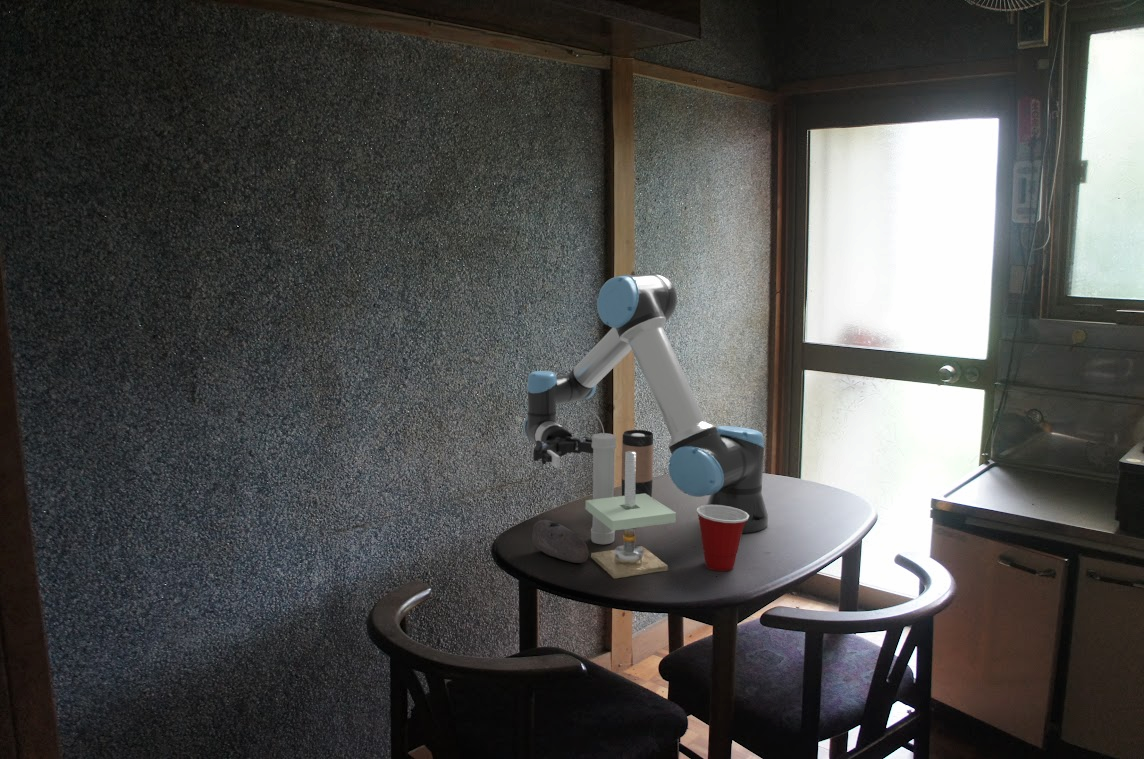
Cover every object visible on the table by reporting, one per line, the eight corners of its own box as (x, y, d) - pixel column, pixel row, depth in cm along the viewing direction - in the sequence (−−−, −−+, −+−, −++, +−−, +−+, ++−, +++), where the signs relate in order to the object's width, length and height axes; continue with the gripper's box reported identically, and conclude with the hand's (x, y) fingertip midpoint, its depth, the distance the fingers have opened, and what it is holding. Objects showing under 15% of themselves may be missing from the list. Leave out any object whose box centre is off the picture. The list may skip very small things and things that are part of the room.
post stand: (591, 557, 182) (592, 448, 178) (642, 550, 186) (644, 443, 182) (614, 578, 171) (616, 462, 167) (667, 570, 175) (670, 456, 171)
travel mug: (658, 513, 211) (660, 434, 207) (633, 518, 207) (635, 438, 203) (638, 505, 217) (640, 428, 214) (614, 510, 213) (615, 432, 209)
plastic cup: (756, 573, 174) (759, 516, 172) (708, 578, 171) (710, 521, 169) (732, 554, 184) (734, 500, 182) (686, 559, 181) (687, 504, 179)
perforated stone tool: (595, 564, 178) (596, 532, 177) (577, 571, 175) (578, 539, 174) (547, 545, 189) (547, 515, 188) (529, 551, 185) (529, 521, 184)
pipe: (613, 546, 189) (614, 413, 184) (585, 543, 190) (586, 411, 185) (616, 537, 194) (618, 408, 189) (589, 535, 195) (590, 406, 190)
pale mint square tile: (585, 509, 181) (585, 500, 180) (645, 502, 186) (645, 493, 185) (612, 530, 168) (612, 521, 168) (675, 522, 173) (675, 512, 173)
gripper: (599, 449, 222) (634, 470, 202) (507, 457, 213) (534, 480, 194) (599, 421, 221) (635, 439, 201) (507, 428, 212) (534, 448, 192)
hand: (586, 459), depth 197 cm, fingers open, 13 cm apart
